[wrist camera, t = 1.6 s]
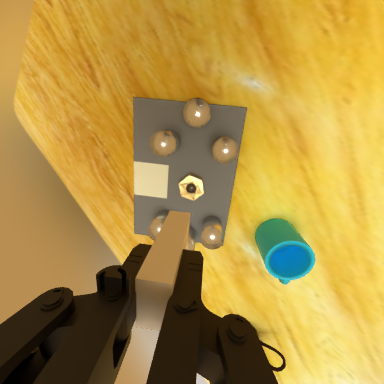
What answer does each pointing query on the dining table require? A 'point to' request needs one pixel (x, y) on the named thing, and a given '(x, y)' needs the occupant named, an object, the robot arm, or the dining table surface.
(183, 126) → the mat
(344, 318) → the dining table surface
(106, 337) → the robot arm
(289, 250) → the mug
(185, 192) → the nut
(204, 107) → the spacers
